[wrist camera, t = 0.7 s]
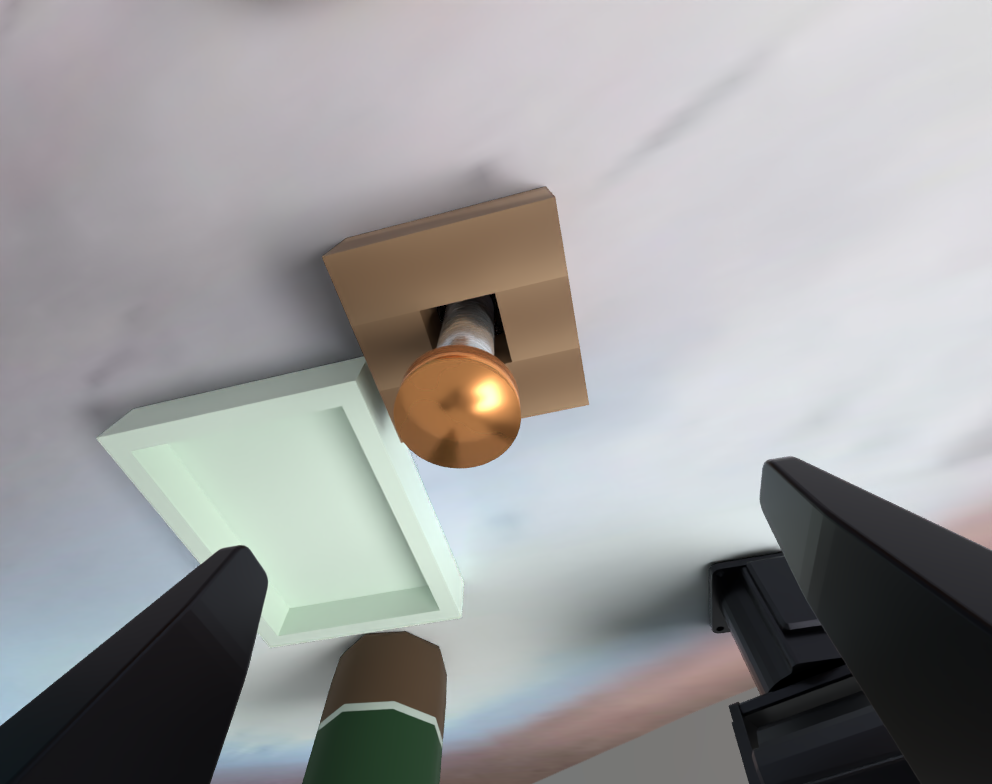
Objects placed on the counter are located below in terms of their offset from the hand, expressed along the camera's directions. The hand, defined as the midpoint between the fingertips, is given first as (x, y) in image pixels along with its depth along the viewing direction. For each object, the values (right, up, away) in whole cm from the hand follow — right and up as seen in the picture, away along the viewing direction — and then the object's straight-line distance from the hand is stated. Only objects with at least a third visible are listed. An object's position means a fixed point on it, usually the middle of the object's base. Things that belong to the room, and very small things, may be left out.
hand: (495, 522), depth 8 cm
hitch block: (-1, +6, +12) cm, 13 cm away
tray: (-10, -4, +17) cm, 20 cm away
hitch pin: (-1, +6, +12) cm, 13 cm away
